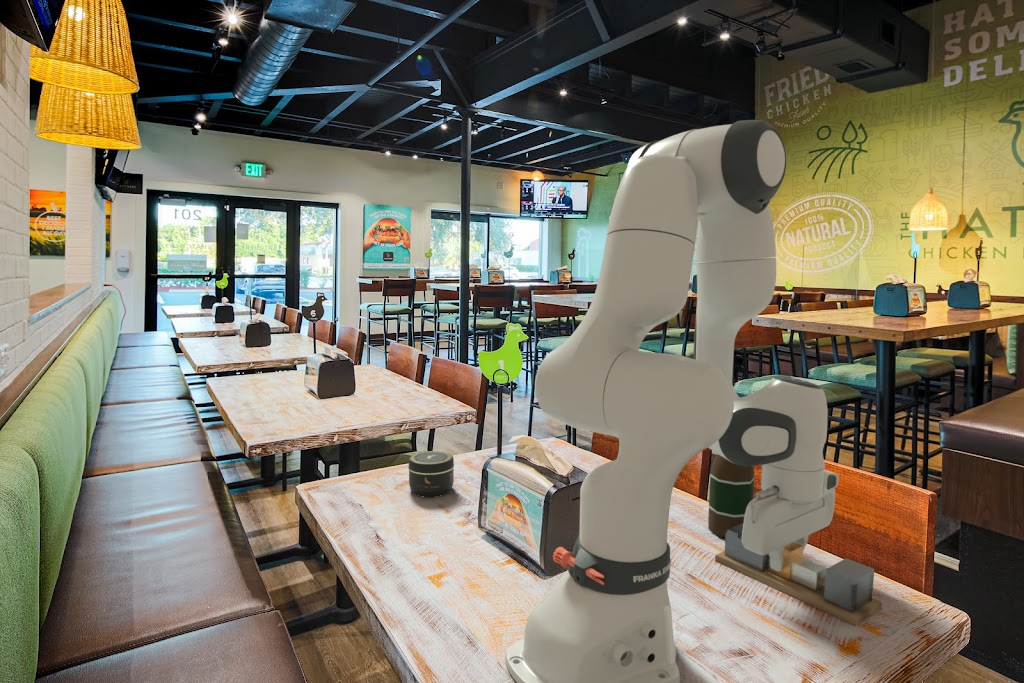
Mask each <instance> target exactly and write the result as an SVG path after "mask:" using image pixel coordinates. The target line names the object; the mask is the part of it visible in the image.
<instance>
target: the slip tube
mask: <svg viewBox="0 0 1024 683" xmlns="http://www.w3.org/2000/svg"><path fill="white" fill-rule="evenodd" d="M741 537H742V536H741ZM803 555H804V551H803V546H802V545H799V544H797V543H794V542H792V543H790V544H788V545H786V546H784V551H782V556H783V558H785V559H786V564H785V565H786V568H785V569H783V570H781V571H776V570H774V569H772V568H771V567H770V556H769V554H766V565H765V568H766V569H768V570H771V572H773V573H775V574H777V575H780V576H782V577H784V578H786V579H789V580H790V579H791V580H793V581H796V582H798V583H800V584H802V585H805V586H807V587H809V588H812V589H814V590H818V589H819V588H821V587H823V586H825V578H826V569H827V568H828V567H827V566H824V565H822V564H819V563H817V562H814V561H812V560H809V559H807V558H804V556H803Z"/></svg>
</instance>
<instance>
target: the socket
mask: <svg viewBox="0 0 1024 683" xmlns="http://www.w3.org/2000/svg"><path fill="white" fill-rule="evenodd" d="M874 577H875V568H873V567H870V566H867V565H865V564H862V563H860V562H858V561H855V560H852V559H849V558H847V557H845V558H844V559H842V560H840V561H838V562H836V563H834V564H833V565H830V566H829V567H827V569H826V578H825V593H824V601H826V602H828V603H830V604H832V605H834V606H837V607H839V608H841V609H843V610H846V611H848V612H850V613H854V612H855V611H857V610H858V609H860V608H861V607H863V606H864V605H866V604H868V603H869V602H871V601H872V598H873V590H874V579H875V578H874Z"/></svg>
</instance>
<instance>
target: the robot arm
mask: <svg viewBox="0 0 1024 683" xmlns="http://www.w3.org/2000/svg"><path fill="white" fill-rule="evenodd" d="M786 152H787V151H786V147H785V143H784V141H783V138H782V136H781V134H780V133H779V131H778V130H777V129H776V128H775V127H774V126H773V125H772V124H771V123H770V122H769V121H766V120H761V119H760V120H758V119H747V120H745V119H744V120H743V119H742V120H736V121H735V122H733V123H732V124H731V123H730V124H722V125H714V126H709V127H704V128H692V129H690V130H687V131H682V132H680V133H677V134H674V135H671V136H668V137H666V138H664V139H661V140H658V139H657V140H653V141H651V142H648V143H646V144H645V145H643V146H641V147H640V148H638V149H637V150H635V151H634V152H633V154H632V155H631V157H630V159H629V160H628V163H627V166H626V168H625V170H624V172H623V174H622V177H621V180H620V182H619V185H618V188H617V191H616V194H615V198H614V202H613V205H612V208H611V211H610V212H611V213H610V217H609V221H608V225H607V232H606V237H605V242H604V249H603V250H604V251H603V255H602V260H601V261H602V262H601V266H600V270H599V276H598V279H597V280H598V281H597V284H596V289H595V292H594V295H593V298H592V300H591V302H590V305H589V308H588V309H587V311H586V314H584V316H583V318H582V320H581V322H580V323H579V325H578V326H577V327H576V329H575V330H574V332H572V334H571V335H570V336H569V337H568V338H567V339H566V340H565V341H564V342H563V343H562V344H560V345H559V346H558V347H556V348H555V349H553V350H551V351H550V352H548V354H547V355H546V356H545V357H544V358H543V359H542V361H541V362H540V365H539V366H538V369H537V371H536V374H535V379H534V394H535V398H536V400H537V403H538V406H539V409H541V411H542V412H543V413H544V414H545V415H547V416H548V417H550V418H551V419H554V420H556V421H558V422H560V423H563V424H564V425H566V426H570V427H571V428H574V429H578V430H581V431H582V430H583V431H588V432H592V433H597V434H602V435H606V436H611V437H615V438H617V439H618V441H619V442H618V443H619V446H618V447H619V448H618V454H617V458H616V459H615V460H614V459H613V460H610V461H608V462H605V463H603V464H601V465H598V466H596V467H595V468H593V469H592V470H590V472H588V474H587V475H586V476H585V478H584V479H583V481H582V483H581V486H580V490H579V491H580V492H579V493H580V496H579V497H580V498H579V499H580V500H579V534H578V536H577V538H576V541H575V544H574V546H573V549H572V552H571V551H568V550H567V549H565V548H564V547H562V546H558V547H557V548H555V550H554V552H553V554H552V560H553V561H554V563H557V564H558V565H561V566H562V567H563V568H565V569H566V568H567V570H566V572H565V573H564V574H563V575H562V576H561V577H560V578H559V579H558V581H557V582H556V583H555V584H554V585H553V586H552V587H551V588H550V589H549V591H548V592H547V593H546V594H545V595H544V597H542V599H541V600H540V601H539V602H538V603H537V604H535V606H534V607H533V608H532V609H531V610H530V612H529V614H528V617H527V620H526V624H525V628H524V629H525V630H524V636H523V637H521V639H519V640H517V641H515V642H514V643H513V644H512V643H511V645H510V646H508V647H507V648H506V649H505V650H506V651H505V656H504V657H505V658H504V659H505V664H506V665H505V666H506V669H507V670H508V672H509V674H510V676H511V677H512V678H513V680H514V681H515V682H516V683H680V682H681V676H680V675H681V673H680V670H679V666H678V665H677V661H676V660H677V654H678V653H677V647H676V644H675V641H674V628H673V627H674V626H673V615H672V614H673V613H672V606H671V602H670V597H669V590H668V583H667V582H668V581H667V580H668V579H669V577H670V576H671V567H672V566H671V565H672V558H671V547H670V544H669V542H668V532H669V531H668V530H669V519H670V508H671V507H670V506H671V499H672V494H673V489H674V487H675V484H676V481H677V479H678V476H679V475H680V473H681V472H682V470H683V468H684V467H685V466H686V465H687V464H688V463H689V462H690V461H691V459H693V458H694V457H695V456H696V455H698V454H700V453H701V452H703V451H704V450H707V449H710V450H711V451H713V452H714V453H715V454H716V455H717V454H718V455H720V456H722V457H724V458H725V459H727V460H728V461H730V462H732V463H734V464H737V465H740V466H746V467H749V466H754V467H755V466H756V467H758V466H761V473H760V474H761V475H760V488H761V490H759V491H758V492H756V493H755V496H754V497H753V500H751V501H750V502H749V504H748V506H747V508H746V512H745V517H744V524H743V531H742V544H743V546H744V547H745V548H746V549H747V550H750V551H752V552H754V553H757V554H759V555H766V554H769V556H770V567H771V568H772V569H774V570H776V571H781V570H783V569H785V568H786V565H785V564H786V559H785V558H783V556H782V551H784V546H786V545H788V544H790V543H792V542H794V543H797V544H799V545H802V546H803V552H804V550H805V548H806V546H807V543H808V541H809V537H810V536H809V535H811V534H813V533H816V532H818V531H820V530H822V529H825V528H827V527H828V526H829V525H830V524H831V522H832V519H833V518H834V517H833V516H834V511H835V504H836V503H835V501H836V490H835V488H837V487H838V485H839V480H840V478H839V474H837V473H835V472H832V471H829V470H827V469H825V467H826V465H825V459H824V454H823V453H824V452H823V451H824V447H825V445H826V442H827V435H828V403H827V397H826V394H825V391H824V390H823V389H822V388H821V387H820V385H818V384H816V383H813V382H810V381H807V380H802V379H799V378H794V377H789V376H775V377H772V378H771V380H769V382H768V383H767V384H766V385H764V386H763V387H761V388H759V389H758V390H756V391H755V392H752V393H750V394H748V395H744V396H741V397H740V396H739V394H737V392H736V390H735V387H734V385H733V372H734V356H735V355H734V353H735V352H734V351H735V341H736V338H737V334H738V332H739V331H740V329H741V328H742V327H743V326H744V325H745V324H746V323H747V322H749V321H750V320H752V319H754V318H755V317H757V316H758V315H760V314H761V313H762V312H763V311H765V309H767V307H768V306H769V305H770V304H771V302H772V300H773V298H774V293H775V289H776V282H777V248H776V235H775V230H774V227H775V226H774V221H773V217H772V216H773V215H772V211H771V210H772V209H771V206H770V202H771V199H773V198H774V197H775V195H776V194H777V192H778V191H779V188H780V187H781V184H782V183H783V180H784V177H785V175H786V169H787V155H786V154H787V153H786ZM695 246H696V249H695ZM695 251H696V252H695ZM695 253H696V254H695ZM694 254H695V255H696V285H697V286H696V289H697V290H696V296H697V297H696V312H695V318H694V320H695V321H694V331H693V332H694V333H693V354H692V355H693V356H692V357H693V358H691V357H688V356H684V355H681V354H674V353H673V354H672V353H663V352H662V353H661V352H653V351H641V350H640V347H641V345H642V343H643V341H644V339H645V338H646V337H647V335H648V334H649V333H650V332H651V331H652V329H654V328H655V327H657V326H659V325H661V324H663V323H665V322H668V321H670V320H672V319H674V318H675V317H676V316H677V315H678V314H679V313H680V312H681V311H682V310H683V308H684V306H685V304H686V302H687V300H688V295H689V288H690V281H691V275H692V268H693V261H694Z"/></svg>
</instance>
